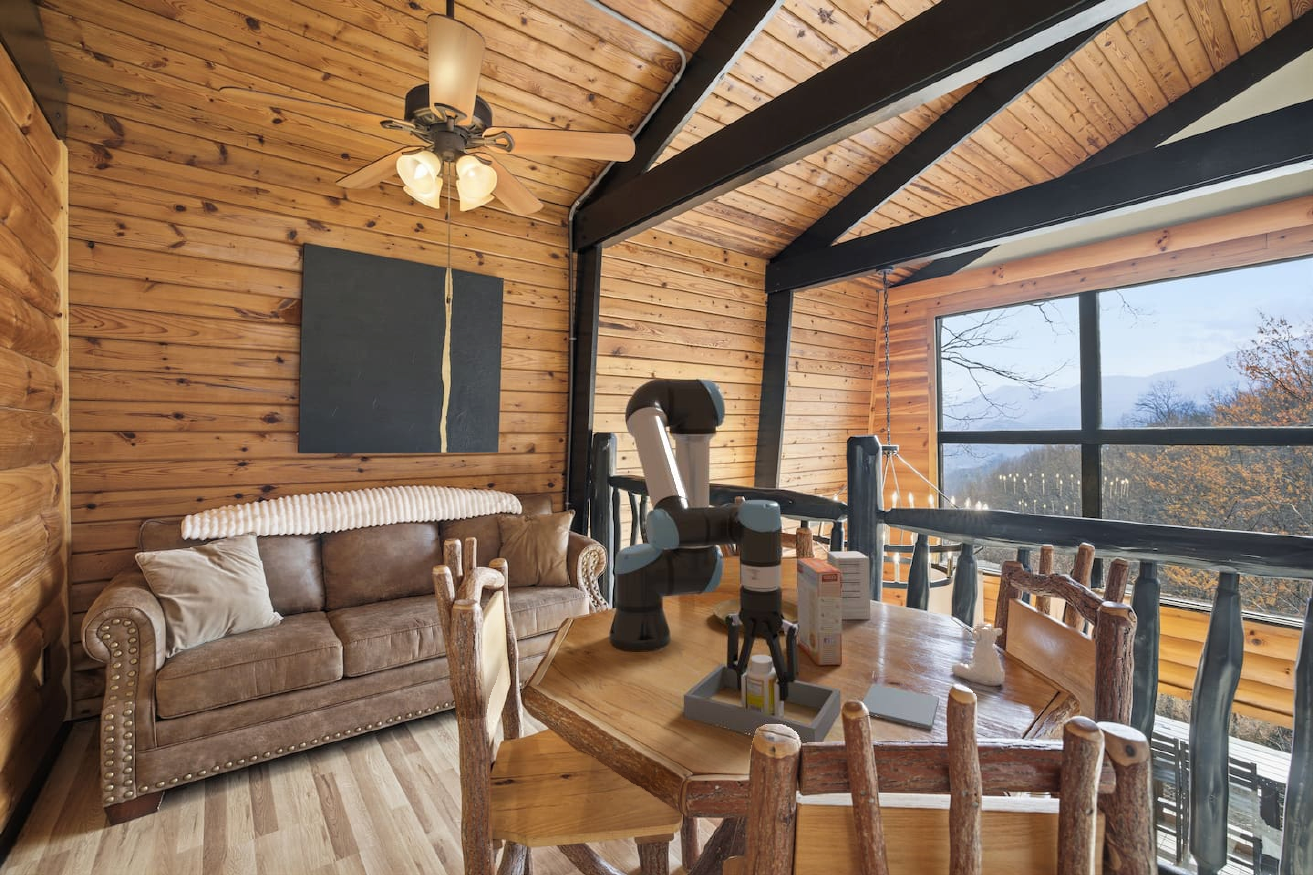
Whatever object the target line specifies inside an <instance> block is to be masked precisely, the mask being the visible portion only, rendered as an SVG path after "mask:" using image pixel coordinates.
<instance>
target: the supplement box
mask: <svg viewBox="0 0 1313 875" xmlns="http://www.w3.org/2000/svg"><path fill="white" fill-rule="evenodd" d="M826 563H828V564H830V565H831V566H833V567H835V568H836V569H838V570H840V571H841V572H842V620H871V591H870V590H871V589H870V588H871V585H870V584H871V580H870V579H871V578H870V577H871V576H870V557H868V556H867V555H865V554H864V553H862V552H859V551H856V550H851V551H850V550H849V551H827V552H826Z"/></svg>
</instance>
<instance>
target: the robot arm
mask: <svg viewBox="0 0 1313 875" xmlns="http://www.w3.org/2000/svg"><path fill="white" fill-rule="evenodd" d="M724 400H725V399H724V396H723V394H722V391H721V389H720V387H719V385H718V384H717V383H716V382H715V381H713V380H709V379H707V380H706V379H698V378H696V379H661V378H657V379H652V380H649V381H647V382H645V383H642V384H641V386H639V387H638V388H637V389H636V390H635V391H634V392H633V394H631V397H630V398H629V399H628V402H627V405H626V408H625V412H624V414H625V416H624V417H625V425H626V428H627V432H628V434H629V435H630V436H631V437H632V438H634V442H635V447H636V451H637V454H638V458H639V462H640V465H641V469H642V473H643V476H644V480H645V483H646V484H645V485H646V489H647V492H648V496H649V499H650V503H651V507H652V509H651V510H649V511H648V512H647V515H646V518H645V519H646V520H645V531H646V538H647V542H648V543H647V542H645V543H637V544H634V545H633V544H632V545H629V546H627V547H623V549H620V550H619V551H618V552H617V554H616V556H615V563H614V564H615V565H614V574H615V612H614V616H613V619H612V622H611V626H610V630H609V634H608V635H609V638H608V639H609V644H610V645H611V646H612V647H614V648H616V649H617V650H618V649H619V650H623V651H627V652H646V651H647V652H648V651H653V650H658V649H661V648H664V647H665V646H667V645H668V644H669V643H671V642H670V641H671V629H670V626H669V624H668V621H667V620H668V619H667V617H666V615H665V611H664V606H663V604H664V602H663V601H664V600H663V599H664V597H675V596H687V595H702V594H706V593H711V592H712V593H713V592H714V591H716V590H717V588H718V587H719V586H720V583H721V581H722V577H723V573H724V572H723V571H724V560H723V553H722V551H721V548H720V547H719V546H725V545H726V546H728V545H736V546H738V547H739V549H738V550H739V583H740V585H741V587H740V589H739V598H740V605H741V609H740V611H739V613H737V614H735V613H731V614H729V615H728V616H726V617H725V621H726V625H727V626H726V628H727V643H726V644H727V645H726V646H727V647H726V648H727V650H726V652H727V653H726V665H727V667H728V668H729V669H733V670H734V671H736V673H737V688H738V689H737V691H740V692H741V707H743V708H747V671H746V669H748V668H749V662H750V659H751V655H752V651H753V647H754V644H755V639H756V638H761V639H762V640H765V644H766V646H768V650H769V652H770V657H771V658H772V661H773V667H774V668H775V671H776V675H777V681H776V682H775V683H774V715H775V716H778V717H782V718H783V716H784V715H785V712H784V710H785V709H784V707H785V706H784V705H785V704H784V703H785V702H787V701H786V699H787V698H788V682H791V683H793V682H794V681H795V680H797V679H798V677H799V675H800V674H799V669H800V668H799V656H798V654H799V653H798V630H799V624H798V623H794V624H792V623H790V622H788V621H786V620H785V618H784V616H783V614H782V600H783V590H782V587H781V586H782V584H783V580H782V579H783V578H782V574H783V573H782V525H783V522H782V521H783V520H782V517H781V507H780V504H779V503H778V502H776V501H774V500H767V499H749V500H743V501H742V502H740V503H725V504H722V505H720V506H710V460H711V459H710V458H711V457H710V453H711V452H710V446H711V445H710V444H711V443H710V442H711V439H713V438H714V436H716V435H717V428H718V427H720V426H722V425H723V423H724V418H725V416H726V411H725V410H726V408H725V407H726V406H725V401H724ZM666 428H668V431H667V429H666ZM668 432H669V434H668ZM669 435H670V436H671V438H672V439H674V442H675V445H674V446H675V447H674V448H675V451H674V449H673V447H672V444H671V441H670V438H669ZM674 452H675V453H674ZM740 621H741V622H742V624H743V625H744V627H745V629H746V631H745V632H744V635H743V642H742V646H741V650H740V653H739V638H740V637H739V635H740V634H739V633H740V631H739V623H740ZM781 627H783V628H784V631H783V632H784V635H785V636H786V637H785V649H786V651H785V652H786V660H785V656H784V653H783V650H782V645H781V643H780V640H781V639H780V635H779V632H778V631H779V629H780V628H781Z"/></svg>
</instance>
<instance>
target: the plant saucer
mask: <svg viewBox="0 0 1313 875" xmlns="http://www.w3.org/2000/svg"><path fill="white" fill-rule="evenodd" d="M740 609H741V605H740V597H736V598H731V599H728V600H723V601H722V602H719V603H718V604H716V605H715V606H714V607H713V609H712V610H713V611H712V612H713V614H714V616H715V618H716V619H717V620H718V621H719V622H720V623H721V624H723V626H725V627H727V625H726V621H725V617H726V616H728V615H729V614H731V613H735V614H737V613H739V611H740ZM782 614H783V616H784V618H785V620H786V621H788V622H790V623H792V624H794V623H797V624H798V604H796V603H794V602H791V601H788V600H784V599H782ZM745 631H746V629H745V627H744V625H743V624H742V622H741V621H740V623H739V632H742V633H745ZM781 632H784V628H783V627H781V628H780V629H779V631H778V633H781Z"/></svg>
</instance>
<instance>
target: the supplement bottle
mask: <svg viewBox="0 0 1313 875" xmlns="http://www.w3.org/2000/svg"><path fill="white" fill-rule="evenodd" d="M776 681H777V675H776V671H775V668H774V664H773V661H772V657H771V655H770V656H769V655H768V654H767V655H765V654H755V655H752V656H750V666H748V668H747V709H751V710H755V711H759V712H763V713H767V714H771V715H774V683H775V682H776Z"/></svg>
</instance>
